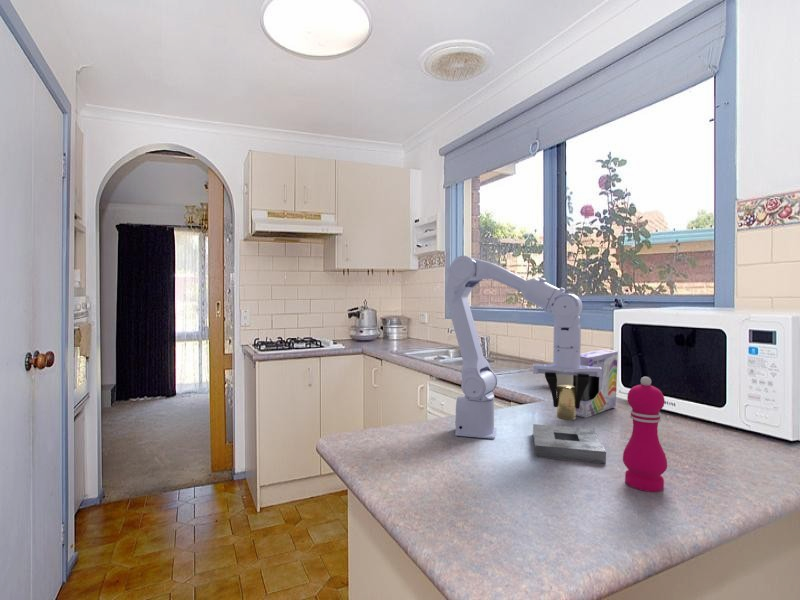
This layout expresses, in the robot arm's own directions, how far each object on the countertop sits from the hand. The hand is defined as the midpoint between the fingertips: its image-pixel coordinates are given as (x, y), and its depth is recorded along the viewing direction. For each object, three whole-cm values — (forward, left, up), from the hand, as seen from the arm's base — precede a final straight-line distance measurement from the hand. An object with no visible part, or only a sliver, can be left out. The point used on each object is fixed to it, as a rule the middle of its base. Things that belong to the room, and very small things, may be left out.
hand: (566, 406), depth 103 cm
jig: (0, 0, -9) cm, 9 cm away
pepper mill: (+12, -17, -10) cm, 23 cm away
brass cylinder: (0, 0, -2) cm, 2 cm away
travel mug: (+6, +69, -10) cm, 70 cm away
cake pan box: (+11, +35, -10) cm, 38 cm away
